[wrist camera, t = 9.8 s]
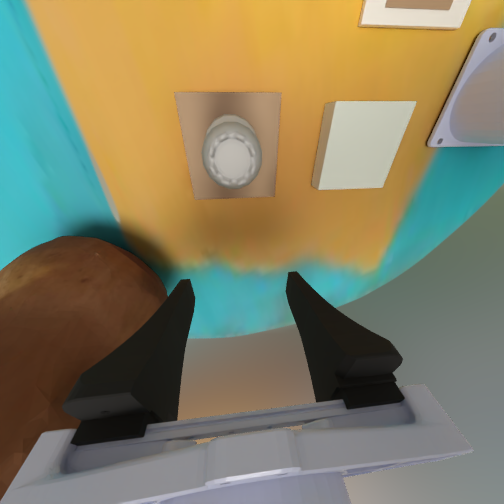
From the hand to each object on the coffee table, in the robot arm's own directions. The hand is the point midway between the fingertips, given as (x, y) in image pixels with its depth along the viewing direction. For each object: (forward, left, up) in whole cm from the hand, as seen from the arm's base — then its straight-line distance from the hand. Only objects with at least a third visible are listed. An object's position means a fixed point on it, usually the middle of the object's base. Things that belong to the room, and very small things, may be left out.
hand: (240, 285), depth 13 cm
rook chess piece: (0, -8, -9) cm, 12 cm away
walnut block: (0, -8, -10) cm, 13 cm away
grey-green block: (-12, -8, -10) cm, 18 cm away
